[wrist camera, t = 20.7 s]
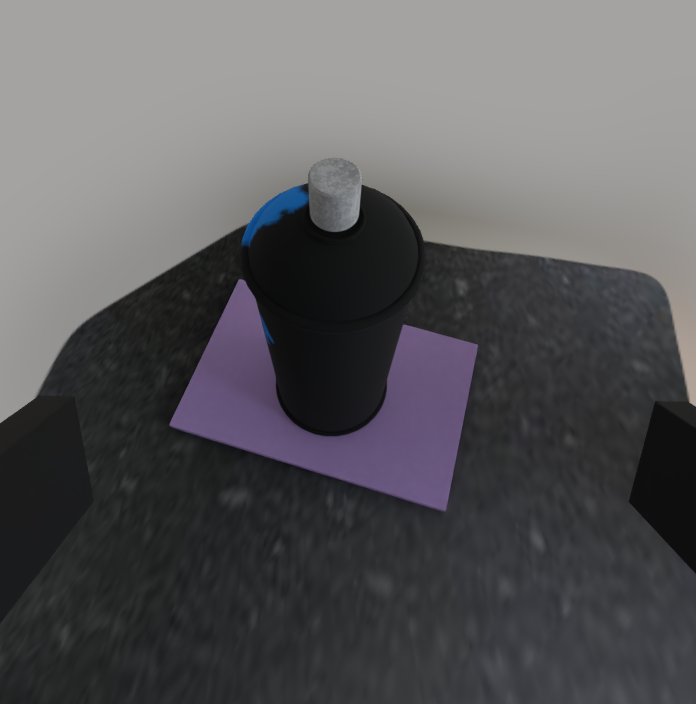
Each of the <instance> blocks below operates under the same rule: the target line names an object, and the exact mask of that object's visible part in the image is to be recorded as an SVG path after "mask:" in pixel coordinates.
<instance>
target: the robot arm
mask: <svg viewBox="0 0 696 704" xmlns="http://www.w3.org/2000/svg"><path fill="white" fill-rule="evenodd" d="M93 501H94V499H93V494H92V489H91V483H90V478H89V473H88V467H87V462H86V457H85V451H84V446H83V440H82V435H81V430H80V424H79V419H78V414H77V408H76V403H75V398H74V396H38V397H37V398H35V399H34V400H32V401H31V402H30V403H28V404H27V405H25V406H24V407H23V408H21V409H20V410H18V411H17V412H16V413H14V414H13V415H11V416H10V417H8V418H7V419H6V420H4V421H3V422H1V423H0V623H1V622H2V620H3V619H4V618H5V616H6V615H7V614H8V612H9V611H10V610H11V609H12V607H13V606H14V605H15V603H16V602H17V601H18V599H19V598H20V597H21V595H22V594H23V593H24V592H25V590H26V589H27V588H28V586H29V585H30V584H31V582H32V581H33V580H34V578H35V577H36V576H37V575H38V573H39V572H40V571H41V569H42V568H43V567H44V565H45V564H46V563H47V561H48V560H49V559H50V558H51V556H52V555H53V554H54V552H55V551H56V550H57V548H58V547H59V546H60V544H61V543H62V542H63V541H64V539H65V538H66V537H67V535H68V534H69V533H70V531H71V530H72V529H73V527H74V526H75V525H76V524H77V522H78V521H79V520H80V518H81V517H82V516H83V514H84V513H85V512H86V510H87V509H88V508H89V507H90V505H91V504H92V503H93ZM629 503H630V504H631V505H632V506H633V507H634V508H635V509H636V510H637V511H638V512H639V513H640V514H641V515H642V517H643V518H644V519H645V520H646V521H647V522H648V523H649V524H650V525H651V526H652V527H653V528H654V529H655V530H656V532H657V533H658V534H659V535H660V536H661V537H662V538H663V539H664V540H665V541H666V542H667V543H668V544H669V545H670V547H671V548H672V549H673V550H674V551H675V552H676V553H677V554H678V555H679V556H680V557H681V558H682V559H683V560H684V562H685V563H686V564H687V565H688V566H689V567H690V568H691V569H692V570H693V571H694V572H695V573H696V407H695V406H693V405H692V404H690V403H689V402H663V401H655V404H654V408H653V411H652V415H651V419H650V423H649V427H648V430H647V434H646V438H645V442H644V446H643V449H642V453H641V457H640V461H639V465H638V468H637V472H636V476H635V480H634V484H633V487H632V491H631V495H630V499H629Z"/></svg>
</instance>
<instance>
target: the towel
mask: <svg viewBox="0 0 696 704" xmlns="http://www.w3.org/2000/svg"><path fill="white" fill-rule="evenodd" d="M477 348H478V345H477V344H473V343H470V342H466V341H462V340H459V339H455V338H451V337H448V336H444V335H440V334H437V333H433V332H430V331H426V330H422V329H419V328H415V327H411V326H408V325H404V324H403V327H402V330H401V334H400V337H399V340H398V344H397V347H396V351H395V354H394V357H393V361H392V364H391V368H390V371H389V374H388V378H387V392H386V397H385V400H384V403H383V405H382V408H381V409H380V411H379V412H378V414H377V415H376V417H375V418H374V419H372V420H371V421H370V422H369V423H368V424H367V425H366V426H364V427H362V428H361V429H359V430H358V431H355V432H352V433H350V434H347V435H341V436H321V435H317V434H313V433H310V432H308V431H306V430H303V429H302V428H300V427H299V426H297V425H296V424H294V423H293V422H292V421H291V420H290V419H289V418H288V416H287V415H286V414H285V412H284V411H283V409H282V408H281V406H280V403H279V400H278V398H277V393H276V376H275V372H274V368H273V364H272V360H271V356H270V353H269V349H268V345H267V341H266V337H265V333H264V330H263V326H262V322H261V318H260V314H259V310H258V307H257V303H256V299H255V297H254V295H253V294H252V292H251V291H250V289H249V288H248V286H247V284H246V281H244V280H241V279H239V281H238V283H237V285H236V287H235V289H234V291H233V293H232V295H231V297H230V299H229V301H228V304H227V306H226V308H225V310H224V312H223V314H222V316H221V318H220V320H219V322H218V324H217V326H216V328H215V331H214V333H213V335H212V337H211V339H210V341H209V343H208V345H207V347H206V349H205V351H204V353H203V355H202V358H201V360H200V362H199V364H198V366H197V368H196V370H195V372H194V374H193V376H192V378H191V380H190V382H189V385H188V387H187V389H186V391H185V393H184V395H183V397H182V399H181V401H180V403H179V405H178V407H177V409H176V412H175V414H174V416H173V418H172V420H171V422H170V424H169V426H170V427H171V428H174V429H177V430H181V431H184V432H187V433H190V434H194V435H197V436H200V437H203V438H207V439H210V440H213V441H216V442H219V443H223V444H226V445H229V446H232V447H236V448H239V449H242V450H245V451H248V452H252V453H255V454H258V455H261V456H265V457H268V458H271V459H274V460H278V461H281V462H284V463H287V464H290V465H294V466H297V467H300V468H303V469H307V470H310V471H313V472H316V473H320V474H323V475H326V476H329V477H332V478H336V479H339V480H342V481H345V482H349V483H352V484H355V485H358V486H361V487H365V488H368V489H371V490H374V491H378V492H381V493H384V494H387V495H391V496H394V497H397V498H400V499H403V500H407V501H410V502H413V503H416V504H420V505H423V506H426V507H429V508H432V509H436V510H439V511H442V512H444V511H446V507H447V502H448V497H449V492H450V487H451V482H452V476H453V471H454V466H455V461H456V456H457V451H458V446H459V440H460V435H461V430H462V425H463V420H464V415H465V410H466V405H467V399H468V394H469V389H470V384H471V379H472V374H473V369H474V363H475V358H476V353H477Z"/></svg>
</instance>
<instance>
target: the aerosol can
mask: <svg viewBox="0 0 696 704" xmlns="http://www.w3.org/2000/svg"><path fill="white" fill-rule="evenodd" d="M240 261H241V269H242V273H243V276H244V279H245V281H246V284H247V286H248V288H249V289H250V291H251V292H252V294H253V295H254V297H255V299H256V303H257V307H258V310H259V314H260V318H261V322H262V326H263V330H264V333H265V337H266V341H267V345H268V349H269V353H270V356H271V360H272V364H273V368H274V372H275V376H276V393H277V398H278V400H279V403H280V406H281V408H282V409H283V411H284V412H285V414H286V415H287V416H288V418H289V419H290V420H291V421H292V422H293V423H294V424H296V425H297V426H299V427H300V428H302V429H303V430H306V431H308V432H310V433H313V434H317V435H321V436H341V435H347V434H350V433H352V432H355V431H358V430H359V429H361V428H362V427H364V426H366V425H367V424H368V423H369V422H370V421H371V420H372V419H374V418H375V417H376V415H377V414H378V412H379V411H380V409H381V408H382V405H383V403H384V400H385V397H386V392H387V378H388V374H389V371H390V368H391V364H392V361H393V357H394V354H395V351H396V347H397V344H398V340H399V337H400V334H401V330H402V327H403V323H404V320H405V317H406V313H407V310H408V306H409V303H410V300H411V299H412V298H413V296H414V295H415V294H416V292H417V291H418V289H419V286H420V284H421V282H422V279H423V277H424V272H425V266H426V252H425V244H424V241H423V238H422V235H421V232H420V230H419V228H418V226H417V225H416V223H415V221H414V220H413V218H412V217H411V216H410V215H409V213H408V212H407V211H406V210H405V209H404V208H403V207H402V206H401V205H399V204H398V203H397V202H396V201H394V200H393V199H392V198H390V197H389V196H387V195H385V194H383V193H381V192H379V191H377V190H375V189H372V188H369V187H366V186H364V185H362V176H361V172H360V170H359V169H358V168H357V167H356V165H354V164H353V163H351V162H349V161H347V160H344V159H340V158H328V159H325V160H322V161H320V162H318V163H316V164H315V165H314V166H313V167H312V168H311V169H310V171H309V174H308V183H307V184H304V185H301V186H297V187H294V188H291V189H289V190H287V191H285V192H283V193H280V194H279V195H277V196H276V197H274V198H273V199H271V200H270V201H268V202H267V203H266V204H265V205H264V206H263V207H262V208H261V209H260V210H259V211H258V212H257V213H256V214H255V215H254V217H253V218H252V220H251V221H250V223H249V224H248V226H247V228H246V231H245V234H244V236H243V239H242V245H241V252H240Z"/></svg>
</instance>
